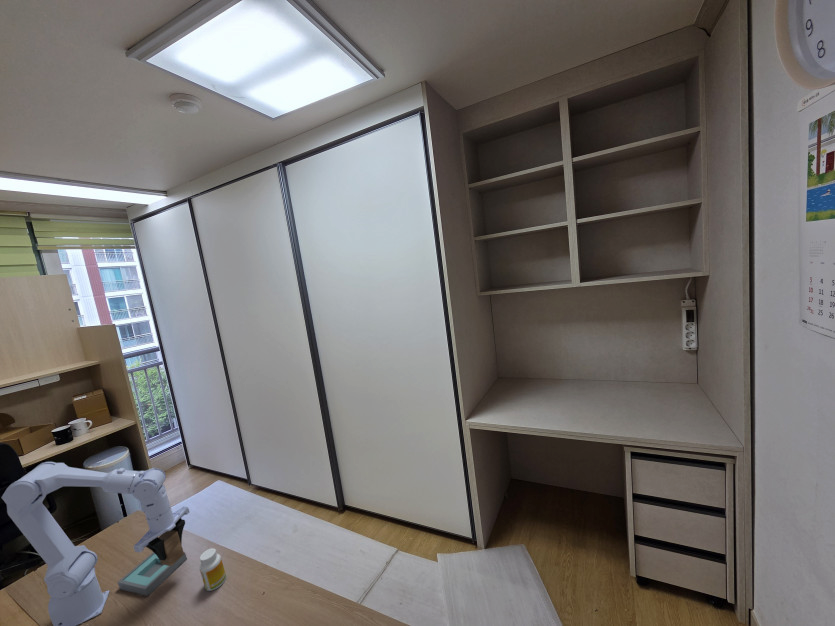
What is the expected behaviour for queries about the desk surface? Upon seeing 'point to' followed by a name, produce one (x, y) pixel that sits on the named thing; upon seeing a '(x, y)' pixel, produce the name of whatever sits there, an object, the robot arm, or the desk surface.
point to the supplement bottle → (212, 569)
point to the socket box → (148, 575)
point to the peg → (171, 547)
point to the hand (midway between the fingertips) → (170, 552)
